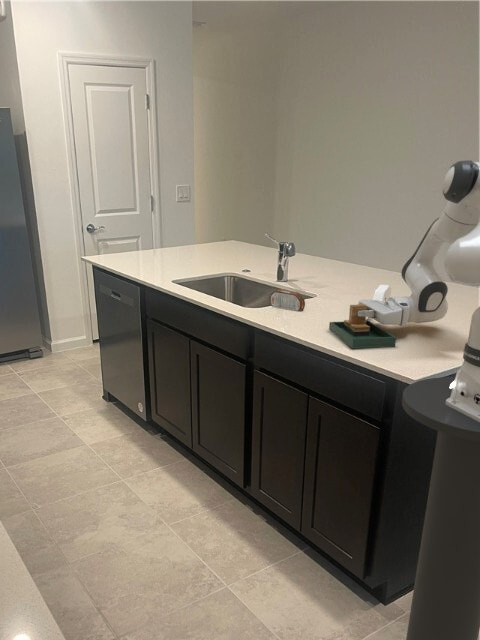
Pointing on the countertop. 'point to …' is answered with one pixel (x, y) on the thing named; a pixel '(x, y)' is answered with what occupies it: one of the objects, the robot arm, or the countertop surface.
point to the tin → (287, 300)
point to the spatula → (381, 296)
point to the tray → (374, 339)
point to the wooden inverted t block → (357, 322)
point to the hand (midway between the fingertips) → (355, 312)
